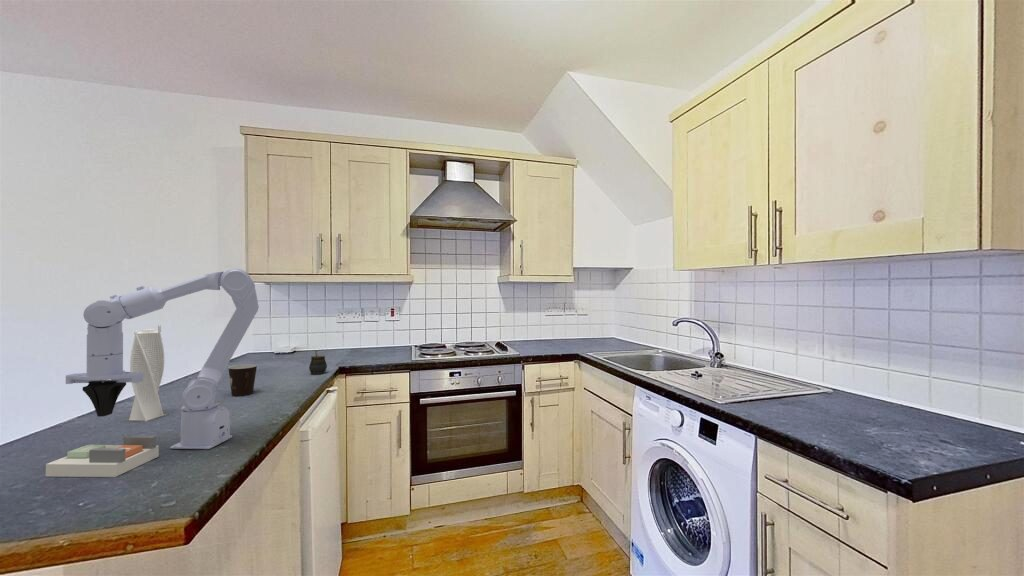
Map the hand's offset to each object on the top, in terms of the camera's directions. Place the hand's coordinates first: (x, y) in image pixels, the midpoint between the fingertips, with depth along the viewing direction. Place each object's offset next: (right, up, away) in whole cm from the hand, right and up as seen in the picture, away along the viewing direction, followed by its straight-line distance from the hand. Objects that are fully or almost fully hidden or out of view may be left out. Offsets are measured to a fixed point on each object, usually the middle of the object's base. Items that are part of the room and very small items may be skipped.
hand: (104, 415), depth 89 cm
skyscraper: (-16, -10, +28) cm, 34 cm away
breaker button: (+8, -9, -4) cm, 13 cm away
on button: (0, -9, -4) cm, 10 cm away
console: (+4, -10, -4) cm, 11 cm away
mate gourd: (+3, -11, +92) cm, 93 cm away
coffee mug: (-6, -10, +54) cm, 56 cm away
